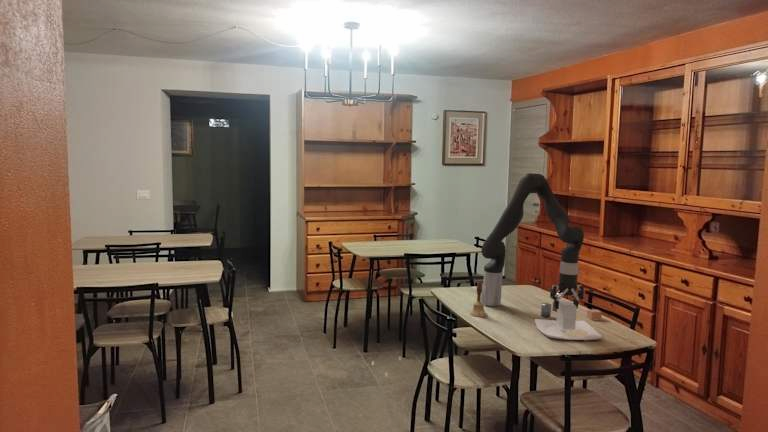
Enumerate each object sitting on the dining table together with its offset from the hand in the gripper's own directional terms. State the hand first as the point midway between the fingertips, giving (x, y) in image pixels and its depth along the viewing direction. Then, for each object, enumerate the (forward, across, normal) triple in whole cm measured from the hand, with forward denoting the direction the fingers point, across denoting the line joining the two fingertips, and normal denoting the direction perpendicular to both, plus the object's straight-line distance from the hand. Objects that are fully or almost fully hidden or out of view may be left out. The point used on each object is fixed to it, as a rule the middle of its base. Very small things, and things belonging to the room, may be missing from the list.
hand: (565, 308), depth 224 cm
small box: (+8, 0, 0) cm, 8 cm away
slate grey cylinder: (+10, +2, +22) cm, 24 cm away
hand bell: (+11, -30, +27) cm, 42 cm away
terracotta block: (+10, +24, +17) cm, 31 cm away
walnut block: (+11, +13, +30) cm, 34 cm away
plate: (+11, +1, -1) cm, 11 cm away
